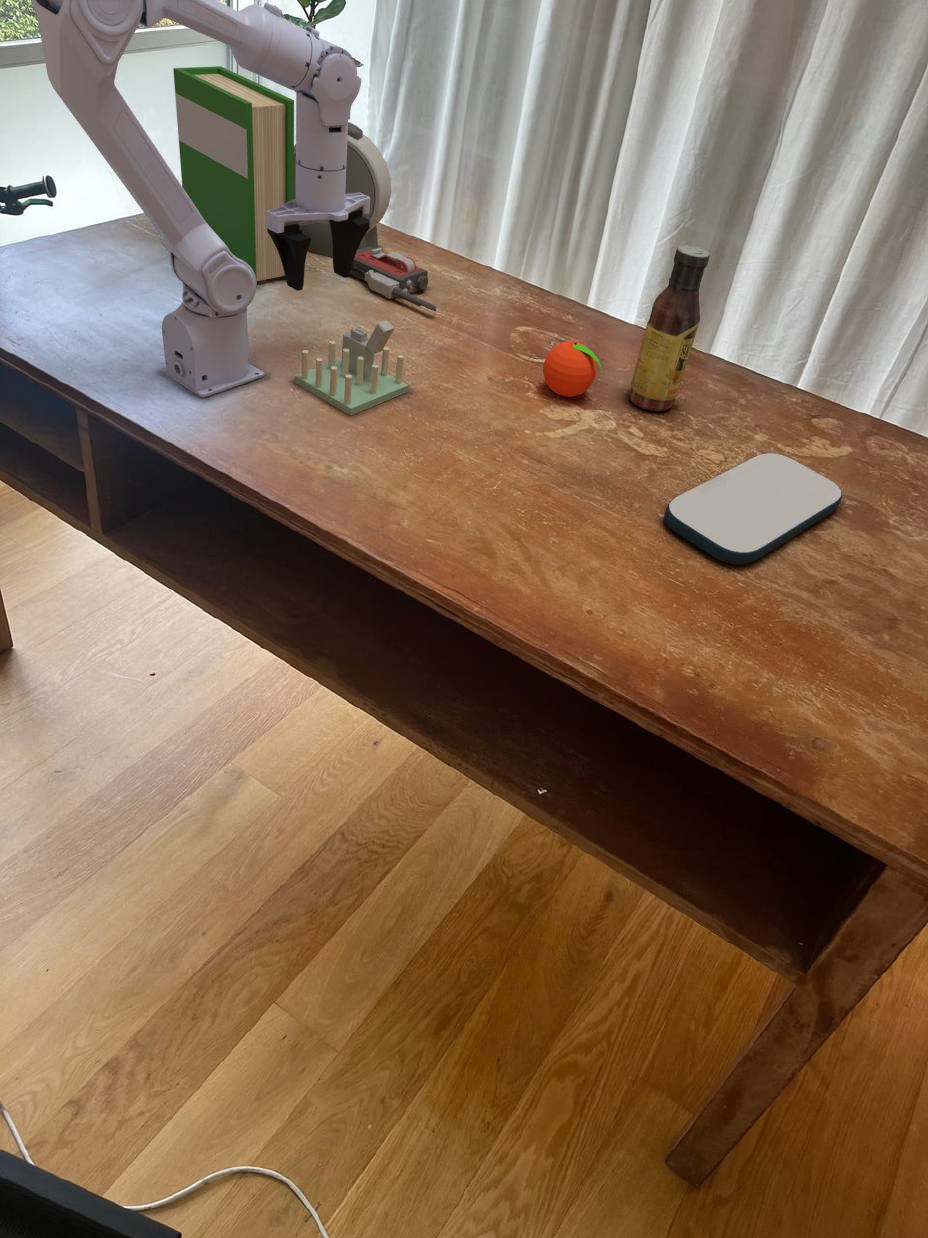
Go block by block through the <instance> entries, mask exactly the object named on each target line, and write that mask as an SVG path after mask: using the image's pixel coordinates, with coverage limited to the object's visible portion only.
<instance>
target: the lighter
mask: <svg viewBox="0 0 928 1238" xmlns="http://www.w3.org/2000/svg"><path fill="white" fill-rule="evenodd" d="M394 330H395V328H394V326H393V325H392V324H391V323H390V321H388V319H385V320H381V321H379V322H377V323H376V326H375V327H374V329H373V331H372V333H371V335H370V337H369V338H368V332H367V331H365V330H363V329H361V328H359V327H355V328H351V329H350V330H349V331H346V332H344V333H342V346H341V359H342V362H343V349H349V350H350V353H349V371H350V372H352V373H354V374H356V373H357V358H358V357H359V356H361V357H363V358H364V366H363V378H367V377H370V376H371V372H372V365H373V358H374V359H375V355H376V354H378V353H381V352H383V348H384V347H386V345H387V343H388V341H389V339H390V337H391V336H392V334H393V332H394Z"/></svg>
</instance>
